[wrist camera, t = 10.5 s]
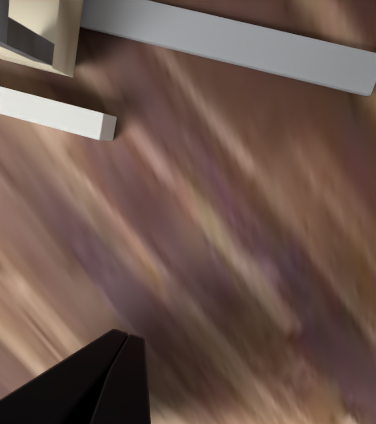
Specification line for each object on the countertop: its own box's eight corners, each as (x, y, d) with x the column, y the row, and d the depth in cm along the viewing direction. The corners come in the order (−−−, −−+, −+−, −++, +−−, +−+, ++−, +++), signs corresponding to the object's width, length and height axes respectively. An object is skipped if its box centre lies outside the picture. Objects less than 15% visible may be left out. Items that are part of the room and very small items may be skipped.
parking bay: (326, 197, 17) (347, 208, 14) (-92, 86, 19) (-150, 75, 16) (435, -76, 13) (493, -138, 10) (-97, -182, 15) (-174, -260, 12)
